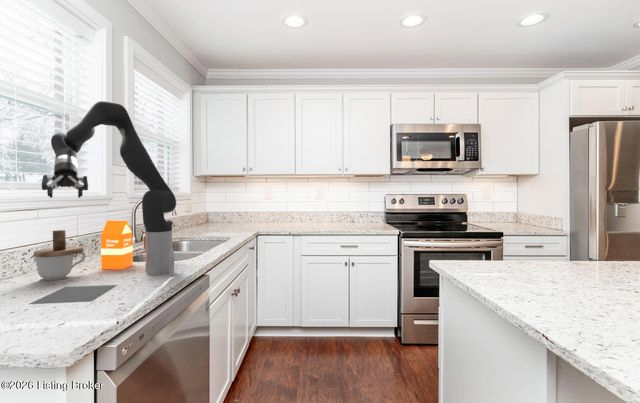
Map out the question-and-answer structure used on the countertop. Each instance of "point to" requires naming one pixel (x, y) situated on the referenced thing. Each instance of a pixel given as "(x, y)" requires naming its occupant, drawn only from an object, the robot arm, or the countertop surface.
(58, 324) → the countertop surface
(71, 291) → the rubber mat
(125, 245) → the orange juice
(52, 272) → the teacup
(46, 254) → the walnut lid
